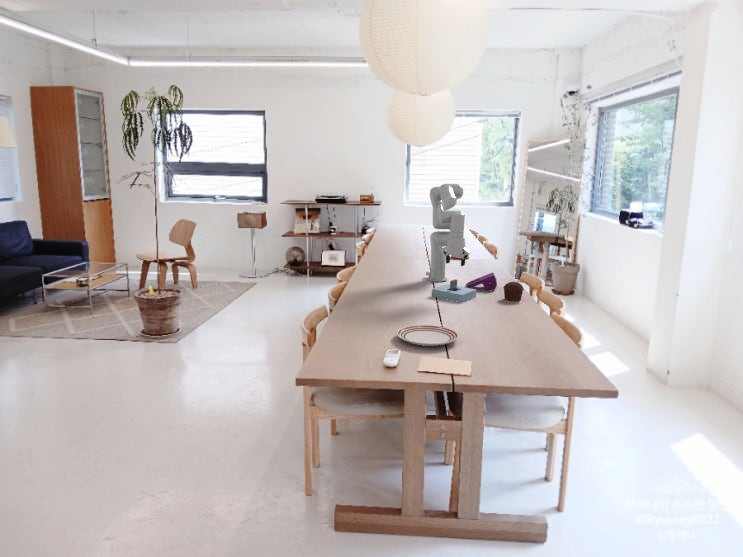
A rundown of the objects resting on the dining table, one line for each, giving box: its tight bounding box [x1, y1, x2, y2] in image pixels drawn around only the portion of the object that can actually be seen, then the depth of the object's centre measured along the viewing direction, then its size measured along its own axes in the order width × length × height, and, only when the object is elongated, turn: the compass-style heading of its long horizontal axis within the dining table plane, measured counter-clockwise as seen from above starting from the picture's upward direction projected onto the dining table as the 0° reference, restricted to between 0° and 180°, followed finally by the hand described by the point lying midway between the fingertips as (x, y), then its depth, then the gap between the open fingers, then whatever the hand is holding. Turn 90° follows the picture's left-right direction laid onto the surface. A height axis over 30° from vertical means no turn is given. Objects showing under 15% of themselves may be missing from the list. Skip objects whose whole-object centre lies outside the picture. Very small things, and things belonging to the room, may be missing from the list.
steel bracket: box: [449, 279, 458, 291], centre depth 316 cm, size 4×5×10 cm
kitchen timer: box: [450, 245, 470, 261], centre depth 432 cm, size 14×14×15 cm
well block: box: [431, 283, 477, 304], centre depth 318 cm, size 20×16×4 cm
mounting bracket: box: [465, 271, 498, 291], centre depth 339 cm, size 10×8×18 cm
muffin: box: [502, 281, 525, 302], centre depth 314 cm, size 12×11×10 cm
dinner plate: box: [396, 324, 460, 347], centre depth 246 cm, size 27×27×3 cm
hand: (455, 264), depth 314 cm, fingers open, 9 cm apart
